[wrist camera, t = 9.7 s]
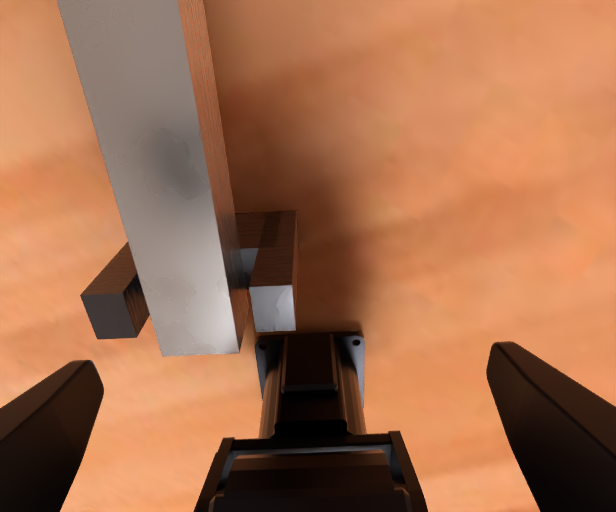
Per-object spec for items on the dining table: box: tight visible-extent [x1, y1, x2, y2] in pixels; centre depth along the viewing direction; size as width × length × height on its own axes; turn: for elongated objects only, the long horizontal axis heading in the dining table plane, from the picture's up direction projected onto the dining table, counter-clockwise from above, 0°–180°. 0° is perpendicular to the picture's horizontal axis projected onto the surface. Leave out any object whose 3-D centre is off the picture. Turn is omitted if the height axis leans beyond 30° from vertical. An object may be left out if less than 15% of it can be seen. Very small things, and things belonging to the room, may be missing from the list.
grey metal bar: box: [57, 0, 249, 357], centre depth 12 cm, size 22×3×3 cm, turn 3°
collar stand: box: [80, 211, 299, 339], centre depth 13 cm, size 20×8×7 cm, turn 3°
